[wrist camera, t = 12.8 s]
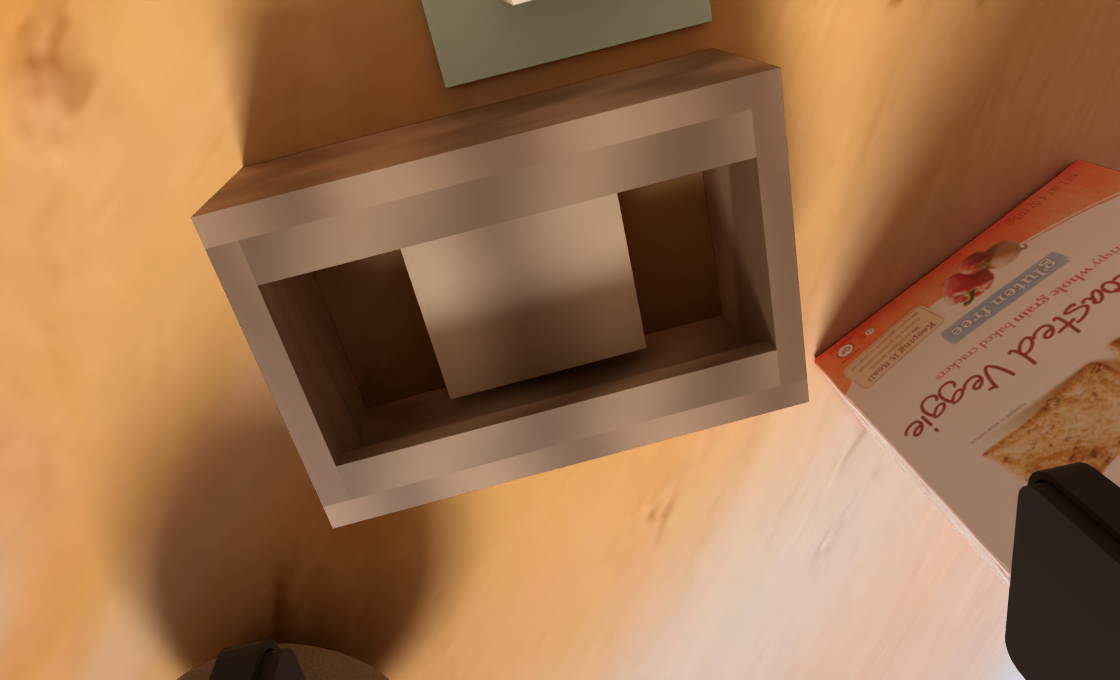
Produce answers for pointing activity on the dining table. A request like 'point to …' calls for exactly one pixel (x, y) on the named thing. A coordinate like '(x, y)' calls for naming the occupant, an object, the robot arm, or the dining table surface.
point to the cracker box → (1000, 360)
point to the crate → (521, 280)
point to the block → (515, 1)
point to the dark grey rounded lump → (309, 665)
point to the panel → (543, 30)
